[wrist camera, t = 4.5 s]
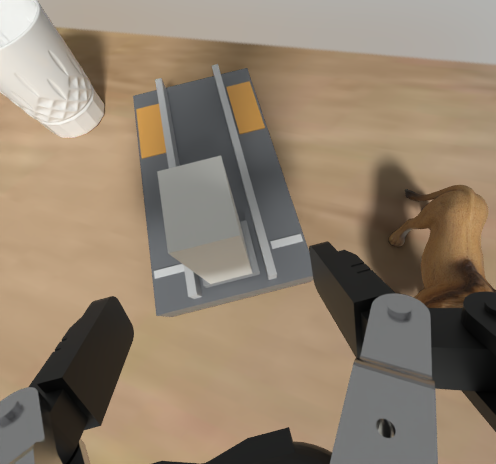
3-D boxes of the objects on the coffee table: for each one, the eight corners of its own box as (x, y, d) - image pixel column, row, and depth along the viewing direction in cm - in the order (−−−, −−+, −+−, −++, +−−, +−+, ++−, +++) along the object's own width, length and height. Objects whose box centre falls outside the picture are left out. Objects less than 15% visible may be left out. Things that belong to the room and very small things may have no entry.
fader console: (249, 92, 29) (245, 53, 25) (310, 281, 22) (320, 270, 17) (146, 118, 29) (125, 83, 25) (171, 317, 22) (147, 314, 17)
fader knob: (247, 224, 20) (231, 152, 12) (260, 274, 19) (252, 232, 10) (197, 237, 20) (146, 173, 12) (206, 287, 19) (155, 256, 10)
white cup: (47, 152, 29) (-61, 68, 19) (41, 103, 31) (-55, 8, 22) (115, 128, 29) (43, 34, 20) (104, 82, 32) (35, -20, 22)
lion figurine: (474, 373, 19) (644, 413, 10) (396, 370, 19) (498, 404, 11) (431, 192, 24) (522, 118, 15) (371, 192, 24) (426, 120, 16)
